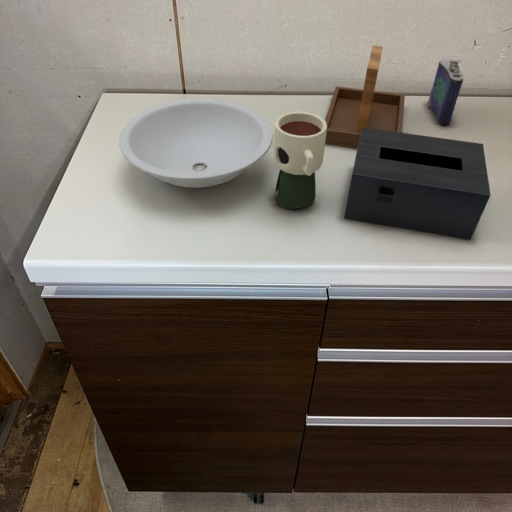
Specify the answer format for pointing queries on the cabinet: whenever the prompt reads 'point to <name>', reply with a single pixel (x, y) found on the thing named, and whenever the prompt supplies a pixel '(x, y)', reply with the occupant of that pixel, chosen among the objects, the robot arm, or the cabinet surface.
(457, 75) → the flask
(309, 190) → the character mug
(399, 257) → the cabinet surface
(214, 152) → the white bowl
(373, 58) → the toast
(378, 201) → the toaster
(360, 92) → the tray
